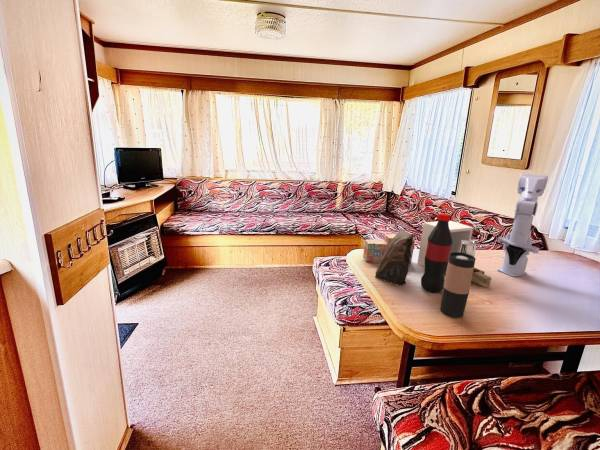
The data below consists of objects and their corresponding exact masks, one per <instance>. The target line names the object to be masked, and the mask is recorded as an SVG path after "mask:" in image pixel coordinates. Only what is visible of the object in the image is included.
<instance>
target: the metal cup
mask: <svg viewBox="0 0 600 450" xmlns="http://www.w3.org/2000/svg"><path fill="white" fill-rule="evenodd" d="M476 250H477V243H476V242H474V241H472V240H471V241H468V240H460V241H459V243H458V247H457V251H456V252H459V253H465V254H469V255H471V256H473V257H475V255H476Z"/></svg>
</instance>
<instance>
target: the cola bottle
mask: <svg viewBox="0 0 600 450" xmlns="http://www.w3.org/2000/svg"><path fill="white" fill-rule="evenodd" d="M437 221H438V223H437V225H436V226H435V228H434V229H433V230H432V232H431V234H430V235H429V237H428V243H427V249H426V255H425V267H424V272H423V274H422V275H421V278H420V286H421V289H423V290H424V291H426V292H428V293H432V294H438V293H440V292H443V286H444V281H445V275H446V274H445V271H446V269H447V265H448V260H449V255H450V251H451V246H452V242H453V241H452V236H451V232H450V229H449V224H448V222H450V221H451V214H448V213H444V212H442V213H441V212H439V213H438V216H437Z"/></svg>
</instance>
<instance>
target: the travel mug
mask: <svg viewBox="0 0 600 450" xmlns="http://www.w3.org/2000/svg"><path fill="white" fill-rule="evenodd" d="M475 264H476V257H475V256H474V257H473V256H471V255H469V254H465V253H459V252H453V253H450V255H449V260H448V265H447V271H446V274H445V275H444V279H445V281H444V286H443V290H442V291H441V292H442V293H441V300H440V307H439V311H440V312H441V313H442V315H445V316H446V317H450V318H454V319H458V318H462V317H464V314H465V309H466V306H467V302H468V298H469V294H470V291H471V283H472V281H471V280H472V275H473V270H474V268H475Z"/></svg>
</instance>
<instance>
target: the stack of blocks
mask: <svg viewBox="0 0 600 450" xmlns="http://www.w3.org/2000/svg"><path fill="white" fill-rule="evenodd" d="M395 235H396V234H394V233H393V234H392V233H391V234H390V233H385V234H384V236H383V239H364V246H363V255H362V258H363V260H364V261H365V263H376V262H380V260H381V258H382V256H383V254H384V252H385V250H386V249H387V246H388V244H389V242H390V241H391V240H392V239H393V237H394V236H395ZM415 239H416V238H415V237H414V238H413V240H412V241H413V245H412V247H411V257H410V259H409V260H410V265H411V264H412V260H413V254H414V248H415Z"/></svg>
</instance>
